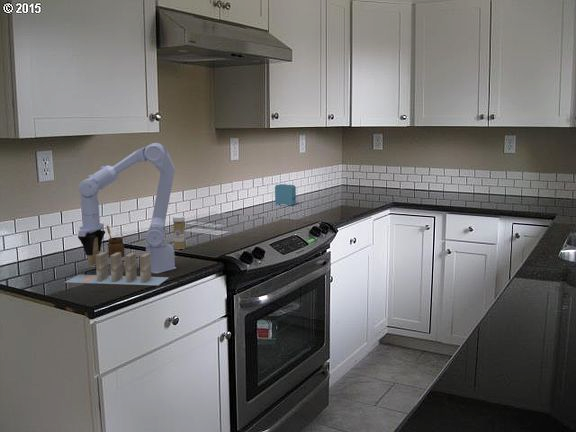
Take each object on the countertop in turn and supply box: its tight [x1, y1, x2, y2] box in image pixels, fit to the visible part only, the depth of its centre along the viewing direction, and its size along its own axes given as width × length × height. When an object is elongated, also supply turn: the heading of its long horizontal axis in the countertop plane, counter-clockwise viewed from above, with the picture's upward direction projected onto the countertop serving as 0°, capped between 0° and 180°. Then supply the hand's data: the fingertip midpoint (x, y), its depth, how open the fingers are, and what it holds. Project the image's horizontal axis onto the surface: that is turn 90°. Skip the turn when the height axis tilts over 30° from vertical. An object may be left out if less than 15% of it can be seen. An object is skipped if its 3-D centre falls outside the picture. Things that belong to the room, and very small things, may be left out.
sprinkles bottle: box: [172, 215, 186, 251], centre depth 256 cm, size 5×5×13 cm
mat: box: [64, 274, 170, 286], centre depth 209 cm, size 32×10×1 cm, turn 80°
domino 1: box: [87, 237, 100, 266], centre depth 218 cm, size 2×5×9 cm, turn 170°
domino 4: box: [124, 252, 138, 282], centre depth 207 cm, size 2×5×9 cm, turn 170°
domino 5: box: [139, 252, 152, 283], centre depth 206 cm, size 2×5×9 cm, turn 170°
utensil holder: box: [105, 225, 125, 258], centre depth 245 cm, size 6×6×12 cm
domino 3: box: [109, 252, 124, 282], centre depth 208 cm, size 2×5×9 cm, turn 170°
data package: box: [274, 183, 297, 206], centre depth 379 cm, size 12×4×12 cm, turn 58°
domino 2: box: [95, 251, 109, 281], centre depth 209 cm, size 2×5×9 cm, turn 171°
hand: (93, 253), depth 218 cm, fingers closed on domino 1, 5 cm apart
